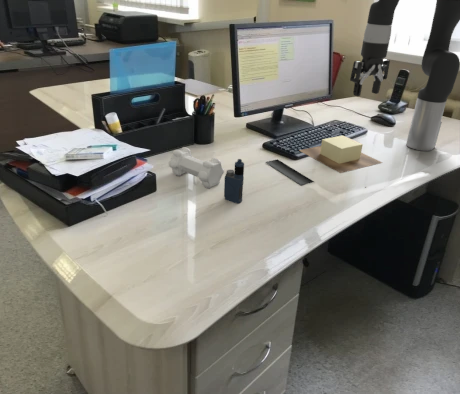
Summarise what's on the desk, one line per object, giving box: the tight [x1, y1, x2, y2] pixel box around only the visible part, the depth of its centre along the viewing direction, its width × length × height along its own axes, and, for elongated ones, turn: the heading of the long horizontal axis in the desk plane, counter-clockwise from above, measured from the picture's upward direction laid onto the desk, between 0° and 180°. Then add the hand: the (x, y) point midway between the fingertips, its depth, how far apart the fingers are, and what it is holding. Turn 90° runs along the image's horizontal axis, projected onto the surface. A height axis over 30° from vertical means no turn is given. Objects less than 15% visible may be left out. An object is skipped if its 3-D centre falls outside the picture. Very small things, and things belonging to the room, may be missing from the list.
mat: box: [265, 159, 315, 186], centre depth 133 cm, size 14×18×1 cm
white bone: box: [168, 146, 225, 189], centre depth 123 cm, size 15×9×8 cm, turn 51°
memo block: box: [320, 135, 364, 164], centre depth 139 cm, size 9×9×5 cm
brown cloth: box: [298, 145, 383, 174], centre depth 140 cm, size 18×20×2 cm
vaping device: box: [223, 158, 245, 204], centre depth 111 cm, size 3×5×12 cm, turn 58°
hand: (365, 94), depth 136 cm, fingers open, 8 cm apart
